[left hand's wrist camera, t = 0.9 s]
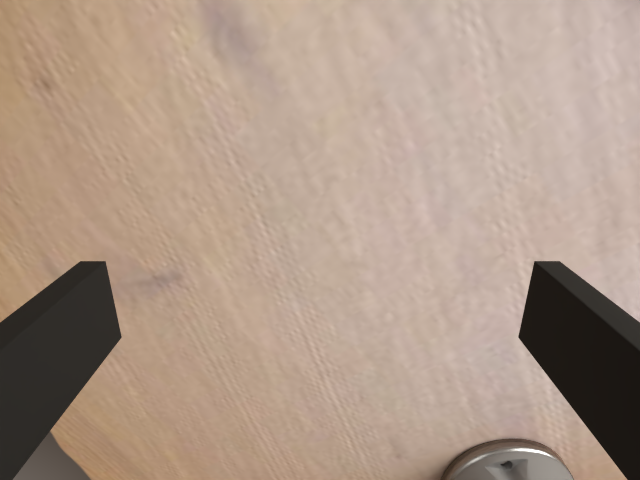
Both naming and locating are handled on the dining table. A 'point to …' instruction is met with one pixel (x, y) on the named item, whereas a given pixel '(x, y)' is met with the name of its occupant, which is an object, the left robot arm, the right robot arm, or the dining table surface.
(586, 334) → the left robot arm
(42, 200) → the dining table surface
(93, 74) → the dining table surface
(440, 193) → the dining table surface
